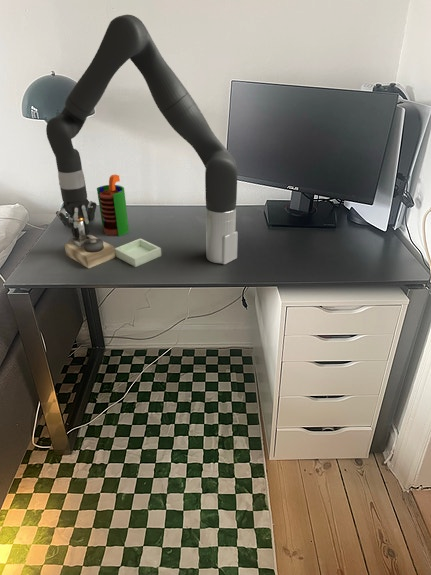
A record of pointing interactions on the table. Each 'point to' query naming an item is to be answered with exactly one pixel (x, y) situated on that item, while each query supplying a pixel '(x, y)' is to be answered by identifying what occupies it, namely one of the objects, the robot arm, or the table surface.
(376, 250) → the table surface
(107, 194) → the motor
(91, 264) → the pulley block
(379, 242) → the table surface
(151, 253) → the tray
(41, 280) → the table surface
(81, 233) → the pin
